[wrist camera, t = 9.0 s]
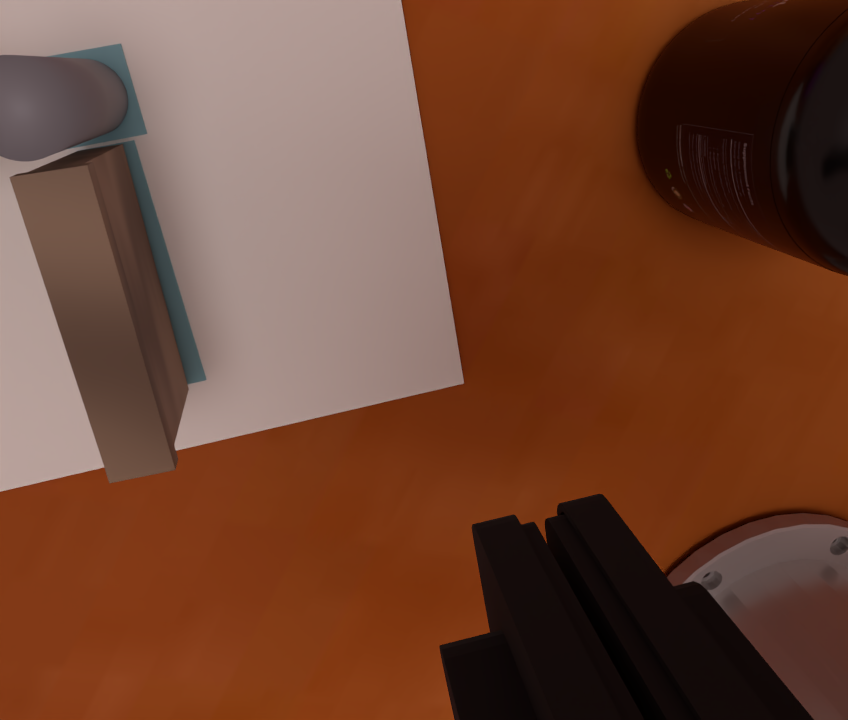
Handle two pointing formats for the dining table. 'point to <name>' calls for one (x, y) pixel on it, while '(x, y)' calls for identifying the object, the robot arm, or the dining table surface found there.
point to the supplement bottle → (756, 125)
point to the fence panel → (107, 305)
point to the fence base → (230, 210)
